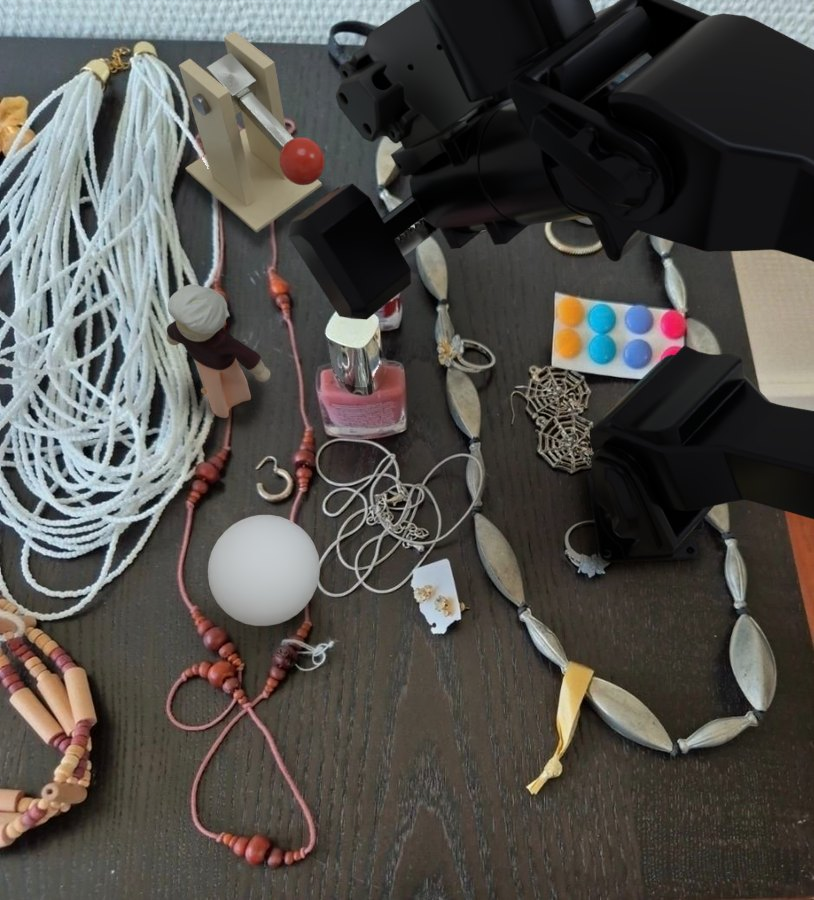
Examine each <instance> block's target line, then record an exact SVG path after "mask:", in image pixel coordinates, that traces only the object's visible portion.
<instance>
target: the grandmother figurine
mask: <svg viewBox="0 0 814 900" xmlns="http://www.w3.org/2000/svg"><path fill="white" fill-rule="evenodd" d="M167 311H168V314H169V315H170V316H171V317H172V319H174V321H172V322H171V323H169V324H168V326H167V327H166V341H167V343H168V344H170V345H172V346H178V345H179V344H181V345H183V347H184V349H185V351H186V352H187V353H188V354H189V355H190V356H191V358H192V359H193V361H194V363H195V366H196V368H197V371H198V374H199V378H200V382H201V383H202V385H203V387H202V388H200V393H201V394H203V395H206V396H207V398H208V403H209V406H210V409H211V411H212V413H213V414H214V415H215V416H216V417H218V418H222V419H227V418H229V416H230V410H231V408H233V407H235V406H237V405H240V404H241V403H243V402H248V401H250V400H251V399H252V395H251V391H250V388H249V382H248V379H247V378H246V376H245V373H244V371H243V369H242V368H241V366H242V367H244V368H245V369H246V370H247V371H249V372H250V373H251V374H252V375H254V378H255V380H257V381H258V382H259V383H266V382H268V381H269V380H270V379H271V371H270V369H269V368H268V367H266V366H265V363H264V362H263V361H262V357H261V355H260V354H259V353H258V352H257V351H256V350H254V349H252V348H251V347H249V346H247V345H245V344H244V343H243V342H242V341H240V340H238V339H237V338H235V337H234V336H233V335H232V334H231V333H229V331H228V330H226V328H225V327H224V326H225V324H226V321H227V319H228V318H229V317H231V315H230V312H229V310H228V303H227V300H226V299H225V297H224V296H223V295H222V294H220V293H218V292H217V291H216V290H215V289H214V288H211V287H206V286H201V285H199V284H196V283H195V284H194V283H193V284H192V283H191V284H187V285H184V286H182V287H181V288H179V289H178V290H176V291H175V292H174V293H173V294H172V295H171V296H170V297H169V299H168V301H167ZM239 364H240V365H241V366H240V365H239Z"/></svg>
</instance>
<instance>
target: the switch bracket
mask: <svg viewBox="0 0 814 900" xmlns="http://www.w3.org/2000/svg"><path fill="white" fill-rule="evenodd" d="M223 39H224V40H223V41H224V44H225V49H226V52H227V54H228V53H230V52H231V53H232V54H233V56H234V57H235V58H236V59H237V60H238V61H239V62H240V63H241V64H242V65H243V66H244V67H245V69H246V70H247V71H248V72H249V73H250V74H251V75H252V76H253V77H254V78H255V79H256V98H257V99H258V100H259V101H260V102H261V103H262V104H263V105H264V106H265V107H266V108H267V110H268V111H269V112H270V113H271V114H272V115H273V116H274V117H275V118H276V119H277V120H278V121H279V123H280V124H281V125H282V126H283V127H284V128H285V129H286V130H287V127H286V121H285V115H284V110H283V103H282V98H281V93H280V86H279V82H278V76H277V75H278V74H277V69H276V64H275V61H274V60H272V59H271V58H270V57H269V56H268V55H266V54H265V53H264V52H263V51H261V50H260V49H258V48H257V47H256V46H255V45H253V44H252V43H251V42H249V40H247V39H246V38H244V37H243V36H242V35H240V34H239V33H238V32H236V31H235V30H233V31H232V32H230V33H228V34H227V35H225V36H224V37H223ZM178 68H179V71H180V74H181V77H182V81H183V84H184V87H185V90H186V94H187V97H188V101H189V104H190V108H191V111H192V113H193V118H194V122H195V124H196V127H197V130H198V134H199V137H200V140H201V144H202V148H203V150H204V153H205V154H204V155H203V156H205V157H206V160H207V162H208V164H209V167H208V168H209V169H207V166H206V165H205V163H204V162H203V160H202V156H201V157H199V158H198V159H196V160H195V161H193V162H192V163H191V164H189V165H187V166H186V167H185V171H186V172H187V173H188V174H190V176H191V177H192V178H194V179H195V180H196V181H197V182H198V183H199V184H200V185H201V186H202V187H204V188H205V189H206V190H207V191H208V192H209V193H210V194H211V195H213V196H214V197H215V198H216V199H217V200H218V201H219V202H220V203H222V204H223V205H224V206H225V207H226V208H227V209H229V210H230V211H231V212H232V213H233V214H234V215H235V216H236V217H238V218H239V219H240V220H241V221H242V222H243V224H246V226H248V228H249V229H251V230H252V231H253V232H254V233H258V232H260V231H261V230H263V229H264V228H265V227H267V226H268V225H270V224H271V223H272V222H274V221H275V220H276V219H278V218H279V217H281V216H282V215H283V214H285V213H286V212H287V211H289V210H291V209H292V208H293V207H295V206H296V205H297V204H298V203H300V202H302V201H303V200H304V199H306V198H307V197H308V196H310V195H311V194H312V193H314V192H315V191H317V190H318V189H320V187H322V186H323V183H322V182H321V181H320V180H319V178H318V179H317V180H316V181H315V182H313V183H311V184H308V185H298V184H295V183H292V182H291V181H289V180H288V179H287V178H286V177H285V176H284V174H283V173H282V171H281V168H280V164H279V157H280V151H279V150H278V149H277V148H276V147H275V146H274V145H273V144H272V143H271V142H270V140H269V139H268V138H267V137H266V136H265V135H264V134H263V133H262V132H261V131H260V130H259V128H258V127H257V126H256V125H255V124H254V123H253V122H252V121H251V120H250V119H249V118H248V116H247V115H246V114H245V113H244V112H243V111H242V112H240V114H241V116H242V122H243V125H244V128H243V129H241V130H240V128H239V124H238V121H237V115H236V116H235V111H234V107H233V103H232V99H231V95H230V91H229V90H228V89H226V88H225V87H224V86H223V85H222V84H220V83H219V82H218V81H217V80H215V79H214V78H213V77H212V76H211V75H209V74H208V73H207V72H206V70H205V69H204V68H202V67H201V66H200V65H199V64H197V63H196V62H195V61H194V60H192V59H191V58H187V59H186V60H185V61H183V62H181V63H180V64H179V65H178Z"/></svg>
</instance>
